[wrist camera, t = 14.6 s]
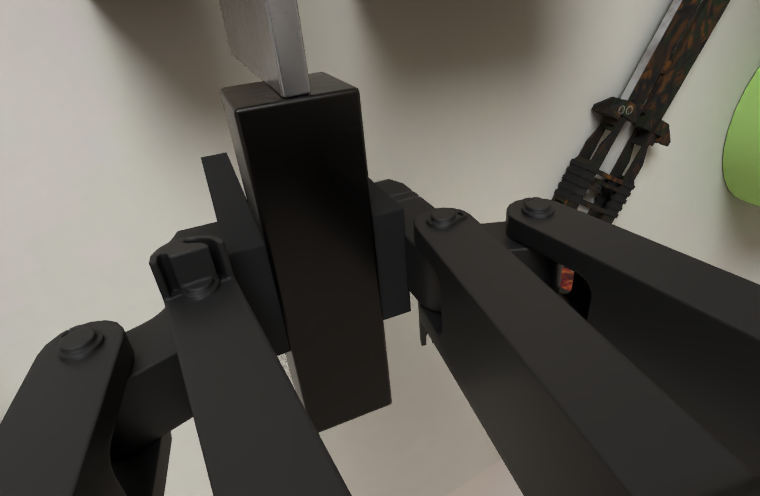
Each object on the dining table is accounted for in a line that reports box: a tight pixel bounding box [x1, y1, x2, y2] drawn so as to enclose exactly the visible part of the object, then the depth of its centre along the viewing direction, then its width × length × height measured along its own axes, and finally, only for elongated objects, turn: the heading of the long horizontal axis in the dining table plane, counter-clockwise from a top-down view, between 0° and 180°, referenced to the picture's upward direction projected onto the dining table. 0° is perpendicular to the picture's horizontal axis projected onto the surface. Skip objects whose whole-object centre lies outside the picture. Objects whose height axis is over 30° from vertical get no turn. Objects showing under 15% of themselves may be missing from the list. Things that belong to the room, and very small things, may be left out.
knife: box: [552, 0, 730, 224], centre depth 29 cm, size 25×6×1 cm, turn 151°
